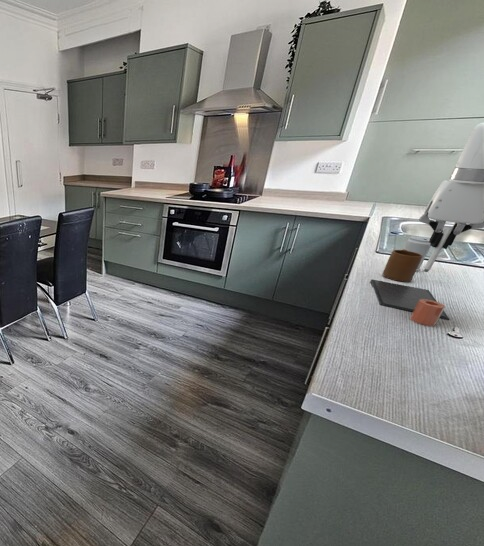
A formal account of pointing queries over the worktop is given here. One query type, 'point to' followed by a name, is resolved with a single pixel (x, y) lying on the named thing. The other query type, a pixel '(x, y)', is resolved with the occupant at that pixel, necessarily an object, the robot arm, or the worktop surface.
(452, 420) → the worktop surface
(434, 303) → the pen pot
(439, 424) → the worktop surface
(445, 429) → the worktop surface
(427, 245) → the beverage can
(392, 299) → the plate
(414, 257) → the mug
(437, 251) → the stylus
